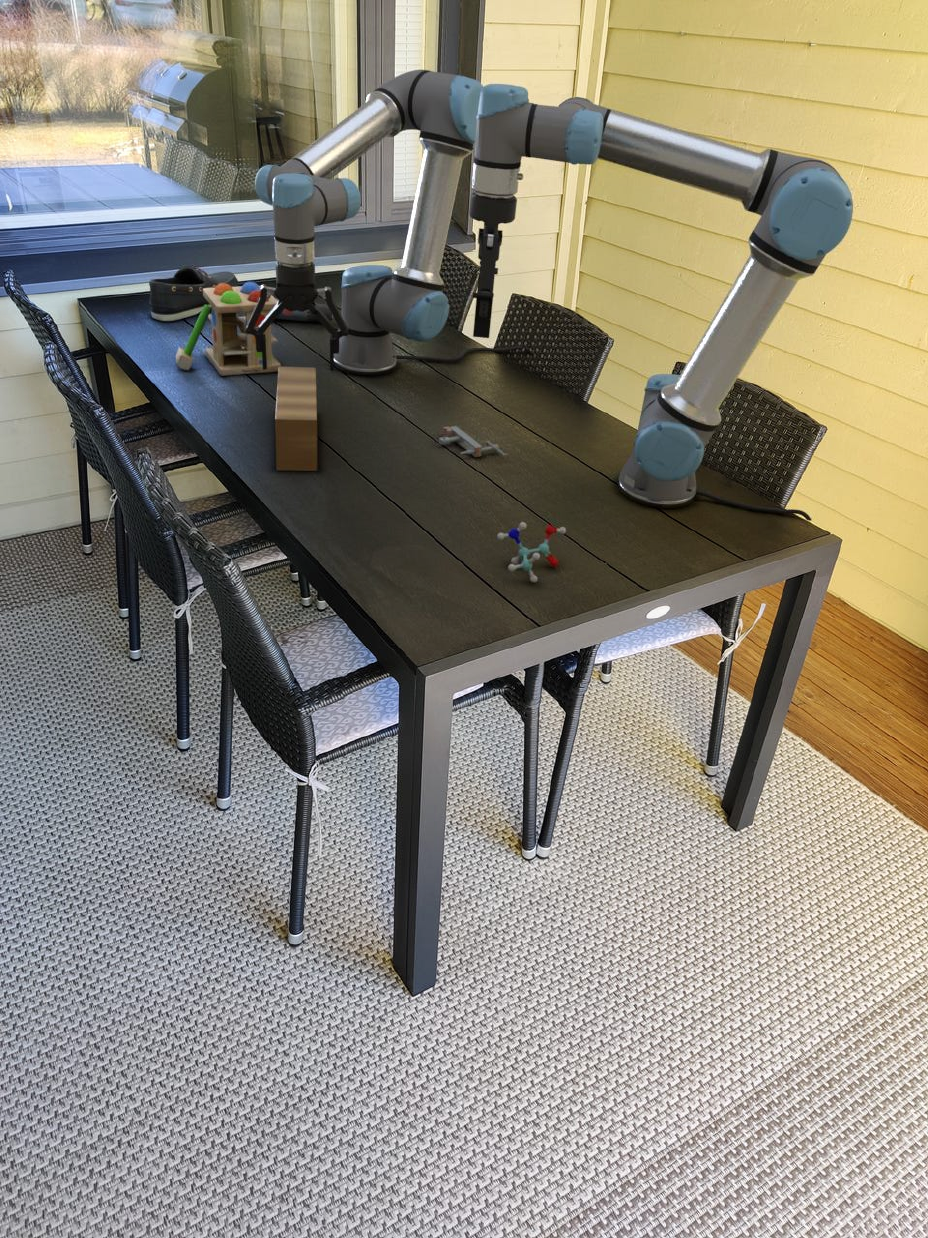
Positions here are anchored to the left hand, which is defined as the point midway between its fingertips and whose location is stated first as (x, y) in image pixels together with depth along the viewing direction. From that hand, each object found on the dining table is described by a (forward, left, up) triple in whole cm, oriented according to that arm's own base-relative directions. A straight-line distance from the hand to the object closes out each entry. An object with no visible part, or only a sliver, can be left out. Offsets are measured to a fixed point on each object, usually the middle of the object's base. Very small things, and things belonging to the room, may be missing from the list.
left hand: (298, 367), depth 202 cm
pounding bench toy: (-4, -35, -11) cm, 37 cm away
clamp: (-20, +31, -11) cm, 39 cm away
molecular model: (+4, +71, -11) cm, 72 cm away
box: (+6, +9, -11) cm, 16 cm away
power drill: (-43, -58, -11) cm, 73 cm away
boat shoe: (-21, -77, -11) cm, 81 cm away
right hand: (-8, +44, +20) cm, 49 cm away
